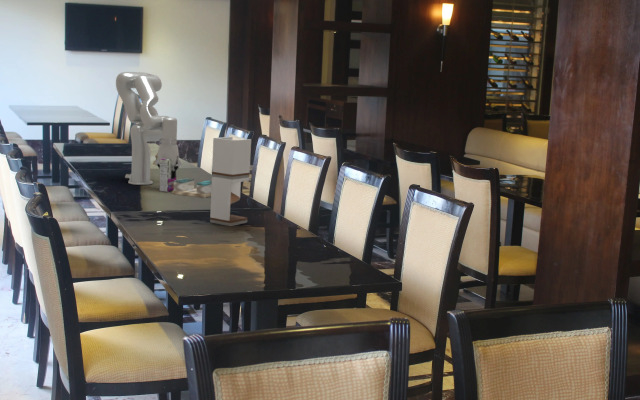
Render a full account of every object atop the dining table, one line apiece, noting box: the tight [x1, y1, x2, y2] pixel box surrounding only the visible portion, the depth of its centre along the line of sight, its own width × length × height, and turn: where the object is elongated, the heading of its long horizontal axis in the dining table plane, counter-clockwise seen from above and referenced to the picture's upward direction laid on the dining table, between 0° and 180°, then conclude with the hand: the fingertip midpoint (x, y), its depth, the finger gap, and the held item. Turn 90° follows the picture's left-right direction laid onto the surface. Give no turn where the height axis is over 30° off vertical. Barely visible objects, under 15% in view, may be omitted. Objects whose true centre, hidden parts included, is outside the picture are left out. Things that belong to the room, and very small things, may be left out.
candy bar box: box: [158, 159, 177, 193], centre depth 404 cm, size 11×5×16 cm, turn 168°
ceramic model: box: [152, 152, 158, 166], centre depth 502 cm, size 14×11×10 cm
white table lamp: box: [209, 136, 252, 227], centre depth 331 cm, size 11×11×35 cm
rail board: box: [171, 177, 212, 199], centre depth 399 cm, size 18×14×6 cm
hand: (167, 177), depth 404 cm, fingers closed on candy bar box, 5 cm apart
